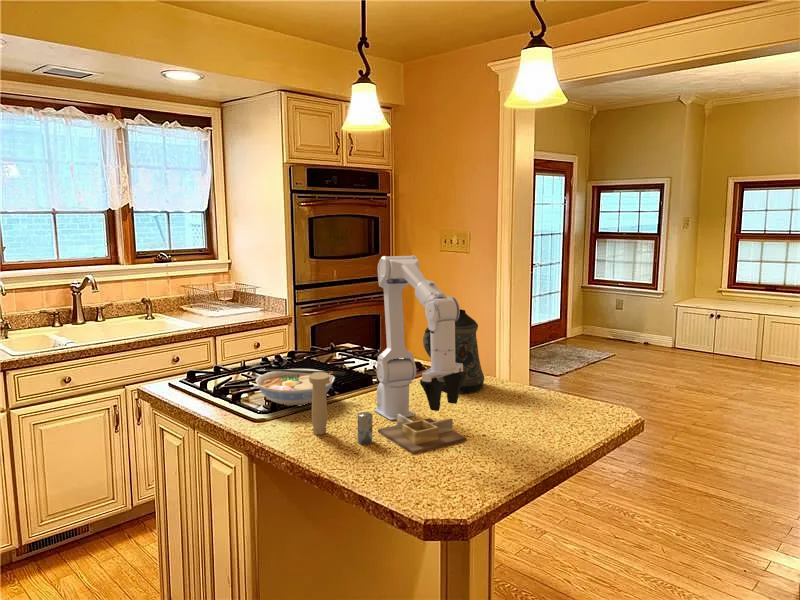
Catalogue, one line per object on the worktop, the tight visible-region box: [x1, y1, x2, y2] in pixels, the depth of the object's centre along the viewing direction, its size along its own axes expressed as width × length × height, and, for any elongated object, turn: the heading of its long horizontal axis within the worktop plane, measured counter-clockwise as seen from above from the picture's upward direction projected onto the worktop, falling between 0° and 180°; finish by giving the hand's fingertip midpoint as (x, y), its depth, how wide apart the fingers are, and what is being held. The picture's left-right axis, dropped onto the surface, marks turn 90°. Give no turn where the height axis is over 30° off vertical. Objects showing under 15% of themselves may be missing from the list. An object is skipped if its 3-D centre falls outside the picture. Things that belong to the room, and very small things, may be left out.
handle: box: [309, 372, 329, 436], centre depth 150 cm, size 5×6×15 cm
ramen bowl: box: [255, 368, 346, 406], centre depth 174 cm, size 25×23×8 cm
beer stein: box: [422, 309, 485, 395], centre depth 190 cm, size 16×19×25 cm
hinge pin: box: [357, 411, 374, 446], centre depth 145 cm, size 4×4×7 cm
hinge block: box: [377, 414, 468, 455], centre depth 149 cm, size 16×16×4 cm
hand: (443, 406), depth 140 cm, fingers open, 7 cm apart
